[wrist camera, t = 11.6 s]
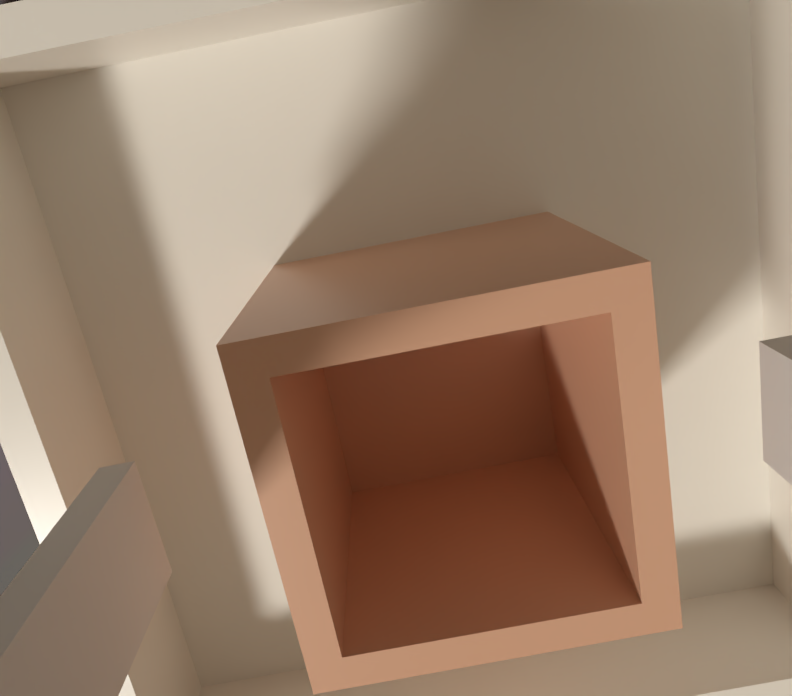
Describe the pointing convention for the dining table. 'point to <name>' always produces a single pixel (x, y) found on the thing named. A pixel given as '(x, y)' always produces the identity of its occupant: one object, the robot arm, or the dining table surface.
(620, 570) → the small crate
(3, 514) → the dining table surface
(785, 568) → the cream square tray
